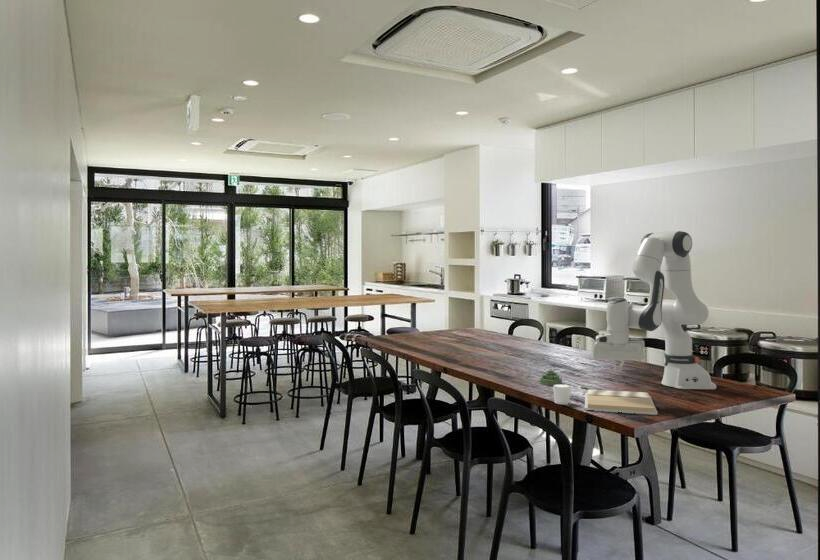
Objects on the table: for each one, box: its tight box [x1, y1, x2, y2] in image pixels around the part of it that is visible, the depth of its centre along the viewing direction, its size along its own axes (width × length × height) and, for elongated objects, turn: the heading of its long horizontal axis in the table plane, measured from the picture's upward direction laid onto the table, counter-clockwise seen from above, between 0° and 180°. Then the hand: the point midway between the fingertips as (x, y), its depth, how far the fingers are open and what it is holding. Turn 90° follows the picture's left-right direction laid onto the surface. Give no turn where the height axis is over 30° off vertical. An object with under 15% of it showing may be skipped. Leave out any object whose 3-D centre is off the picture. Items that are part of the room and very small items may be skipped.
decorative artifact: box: [539, 368, 563, 387], centre depth 270 cm, size 10×7×10 cm
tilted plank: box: [586, 389, 651, 399], centre depth 238 cm, size 24×9×2 cm, turn 73°
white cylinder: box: [552, 383, 571, 405], centre depth 235 cm, size 7×7×7 cm
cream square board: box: [584, 392, 659, 416], centre depth 231 cm, size 26×26×2 cm
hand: (618, 370), depth 240 cm, fingers closed
